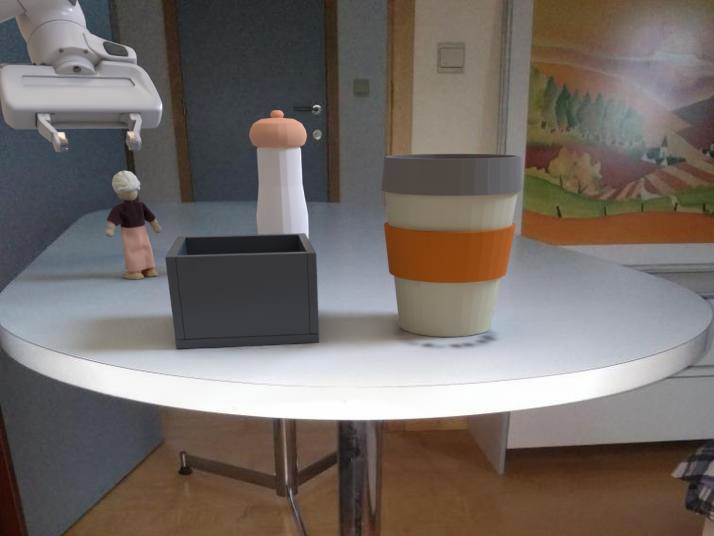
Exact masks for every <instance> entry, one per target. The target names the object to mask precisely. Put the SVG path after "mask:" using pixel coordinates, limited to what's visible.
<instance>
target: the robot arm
mask: <svg viewBox="0 0 714 536" xmlns="http://www.w3.org/2000/svg"><path fill="white" fill-rule="evenodd" d="M13 18H14V19H15V21H16V23H17V26H18V29H19V32H20V34H21V36H22V38H23V39H24V40H25V42H26V50H27V53H28V56H29V58H30V62H31V63H29V62H19V63H18V62H17V63H9V62H0V106H1V110H2V111H1V112H2V115H3V119H4V121H5V123H6V125H8V126H9V127H11V128H12V129H14V130H38V133H39V134H40V135H41V136H42V137H43V138H45V139H46V140H47V141H49V143H51V144H52V146H53V148H54V151H55V153H68V152H69V140H68V138H67V135H66V133H65V131H58V130H85V129H86V130H95V129H96V130H100V129H101V130H102V129H108V130H109V129H110V130H111V129H113V130H114V129H115V130H116V129H117V130H118V129H120V130H121V129H128V131H126V137H125V144H126V146H127V147H128V151H141V150H142V145H143V144H142V138H141V135H140V134H141V130H142V129H156V128H157V127H158V126H159V125H160V122H161V120H162V116H163V102H162V100H161V97H160V95H159V92H158V90H157V88H156V86H155V85H154V83H153V80H152V79H151V78H150V75H149V74H148V73H147V72H146V70H145V69H144V68H143V67H142V66H140V65H138V59H137V58H138V57H137V53H136V51H135V50H134V49H133V48H132V47H130V46H127V45H123V44H119V43H116V42H113V41H110V40H107V39H104V38H102V37H99V36H97V35H95V34H92V33H91V32H90V30H89V29H88V28H87V22H86V17H85V14H84V12H83V9H82V7H81V5H80V3H79V0H0V24H3V23H5V22H6V21H9V20H11V19H13Z"/></svg>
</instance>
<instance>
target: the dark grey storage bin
mask: <svg viewBox="0 0 714 536" xmlns="http://www.w3.org/2000/svg"><path fill="white" fill-rule="evenodd" d="M164 258H165V259H164V260H165V266H166V267H165V268H166V275H167V283H168V291H169V300H170V309H171V315H172V324H173V331H174V340H175V347H176V349H177V350H180V349H181V350H182V349H183V350H184V349H202V348H203V349H204V348H205V349H206V348H224V347H225V348H226V347H247V346H248V347H249V346H268V345H270V346H271V345H291V344H313V343H314V344H316V343H320V325H319V323H320V322H319V294H318V293H319V292H318V291H319V290H318V261H317V252H316V250H315V249H314V247H313V245H312V243H311V240H309V237H308V238H307V236H306V234H305V233H298V234H297V233H296V234H258V233H257V234H222V235H184V236H181V235H180V236H177V237H176V238H175V240H174V242H173V244H172V245H171V247H170V249H169V250H168V252H167V254H166V255H165V257H164Z"/></svg>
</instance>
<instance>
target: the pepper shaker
mask: <svg viewBox="0 0 714 536" xmlns="http://www.w3.org/2000/svg"><path fill="white" fill-rule="evenodd" d="M269 115H270V117H268V118H260V119H259V120H257V121H255V122H253V124H252V125H251V127H250V129H249V135H248V137H249V140H250V143H251V145H252V146H254V147H256V159H257V161H256V162H257V176H258V177H257V178H258V179H257V180H258V192H257V202H256V203H257V205H256V216H255V217H256V229H257V234H296V233H297V234H298V233H305V234H306V236H307V238H308V239H309V213H308V208H307V207H308V206H307V202H306V196H305V191H304V185H303V167H302V166H303V165H302V149H301V147H302V146H304V145H305V144H306V142H307V137H308V134H307V131H306V128H305V127H304V125H303V123H302V122H300V121H298V120H296V119H295V118H287V117H284V115H285V114H284V112H283V111H282V110H279V109H275V110H272V111H271V112H270V114H269Z"/></svg>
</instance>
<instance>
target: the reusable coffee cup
mask: <svg viewBox="0 0 714 536" xmlns="http://www.w3.org/2000/svg"><path fill="white" fill-rule="evenodd" d="M522 166H523V162H522V156H521V155H519V154H518V155H516V154H504V153H503V154H502V153H418V154H417V153H416V154H415V153H414V154H411V153H410V154H394V155H393V154H392V155H386V156H384V158H383V167H382V169H383V171H382V178H381V187H380V188H381V189H380V191H382V192H384V196H385V204H386V205H385V206H386V213H387V215H386V217H387V222H384V224H383V228H384V229H383V230H384V238H385V247H386V257H387V265H388V273H389V274H390V275H392V276H393V279H394V288H395V290H394V291H395V298H396V300H395V301H396V309H397V316H398V317H397V318H398V326H399V327H400V328H401V329H402V330H404V331H407V332H408V333H412V334H416V335H422V336H427V337H439V338H440V337H441V338H454V337H455V338H456V337H457V338H459V337H470V336H476V335H479V334H483V333H486V332H488V331H490V330H491V328H492V325H493V324H492V323H493V319H494V314H495V309H496V304H497V300H498V294H499V289H500V284H501V279H502V278H503V277H504V276H506V275H507V272H508V267H509V262H510V258H511V252H512V247H513V242H514V237H515V232H516V229H517V228H516V227H517V225H516V223H514V222H513V219H514V215H515V209H516V204H517V200H518V193H520V192H522V191H523V167H522Z"/></svg>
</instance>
